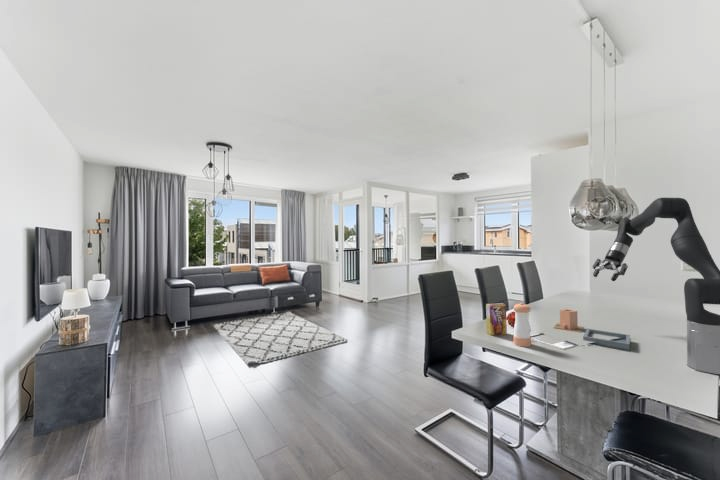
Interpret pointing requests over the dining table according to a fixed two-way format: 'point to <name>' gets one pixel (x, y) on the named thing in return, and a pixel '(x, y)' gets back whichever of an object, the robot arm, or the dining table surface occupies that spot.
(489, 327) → the candy box
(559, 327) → the post stand
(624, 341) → the tray
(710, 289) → the robot arm
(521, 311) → the pepper shaker
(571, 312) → the orange-brown box
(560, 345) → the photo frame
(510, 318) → the dragon fruit
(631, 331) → the dining table surface
